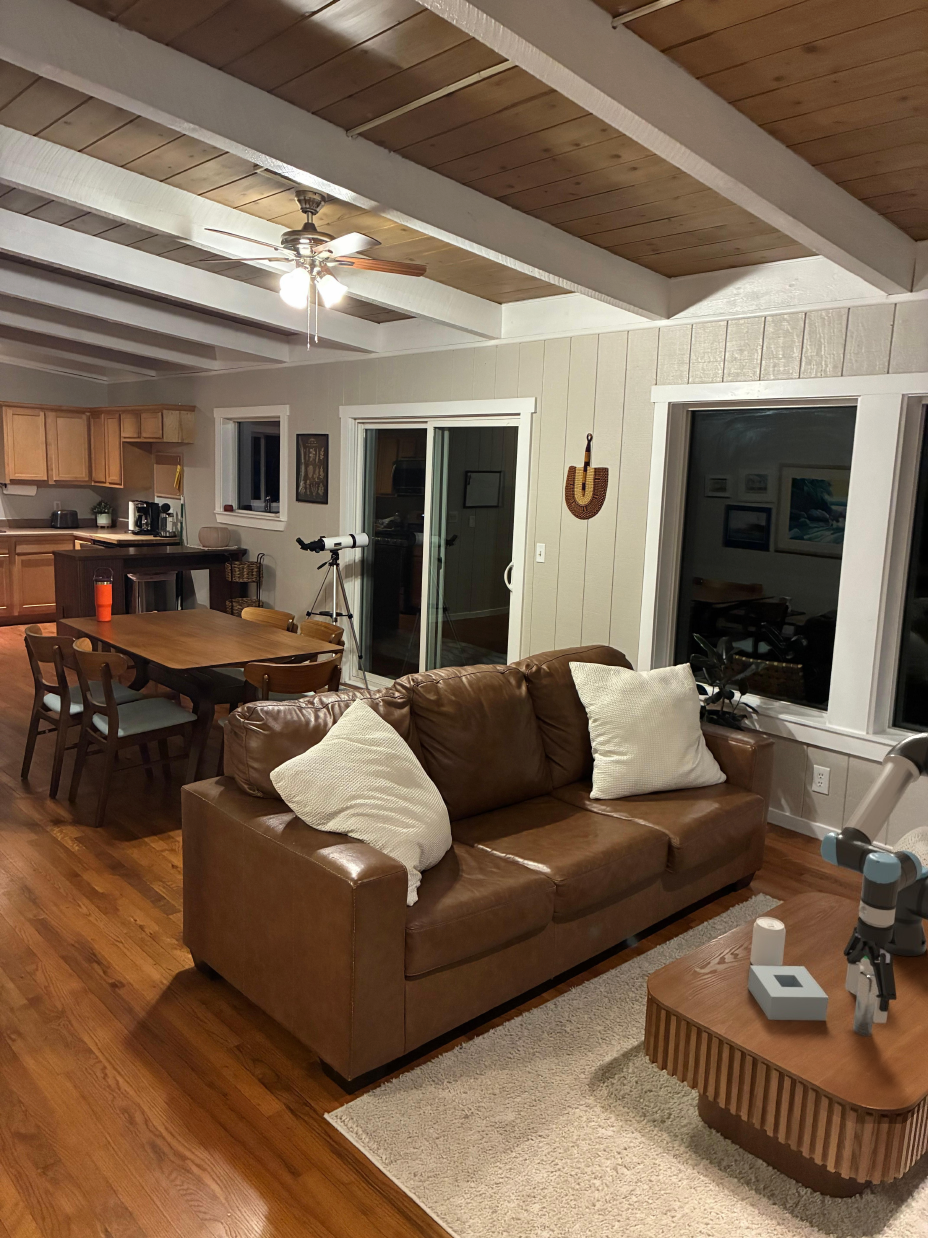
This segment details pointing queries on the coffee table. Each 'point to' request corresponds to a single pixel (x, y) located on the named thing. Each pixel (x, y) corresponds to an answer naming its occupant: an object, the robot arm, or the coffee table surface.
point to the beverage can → (768, 942)
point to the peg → (865, 1003)
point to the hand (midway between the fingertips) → (864, 1005)
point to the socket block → (787, 993)
